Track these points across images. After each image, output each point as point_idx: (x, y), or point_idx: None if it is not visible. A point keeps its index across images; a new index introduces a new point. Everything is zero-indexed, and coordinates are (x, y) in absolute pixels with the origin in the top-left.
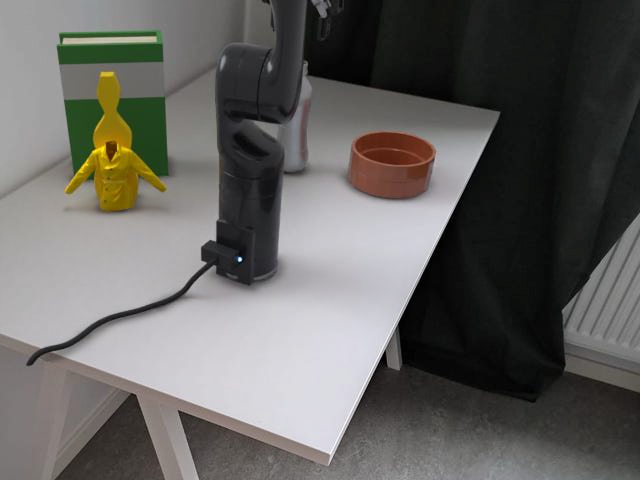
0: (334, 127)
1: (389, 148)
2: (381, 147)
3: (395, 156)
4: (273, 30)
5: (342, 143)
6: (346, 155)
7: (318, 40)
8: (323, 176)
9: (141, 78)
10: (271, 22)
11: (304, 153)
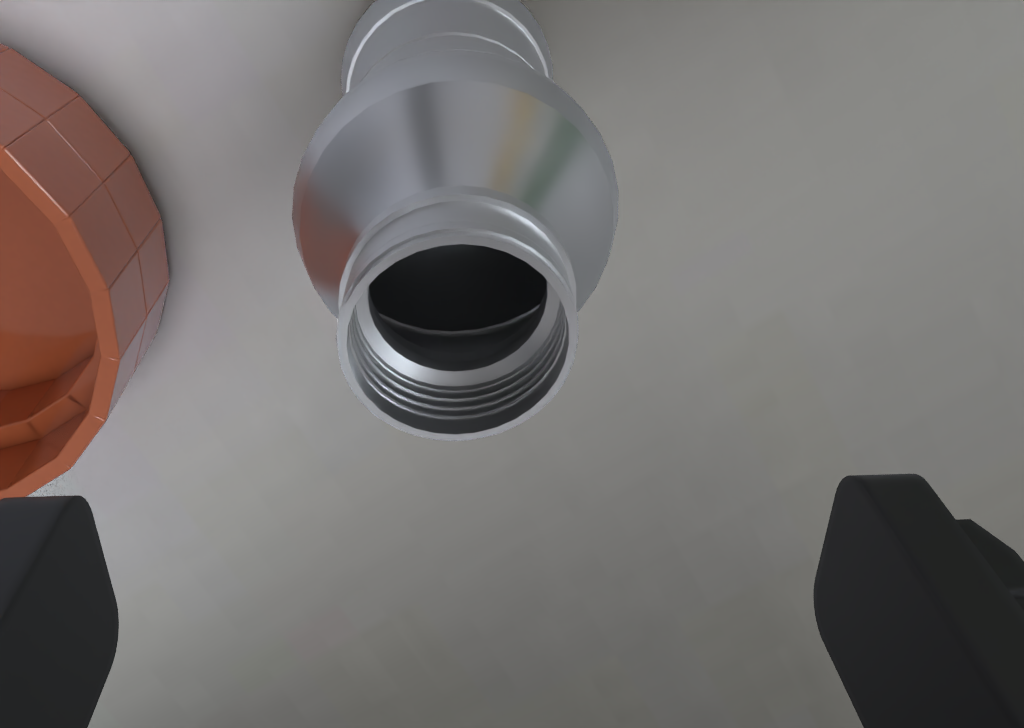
0: (488, 571)
1: (35, 426)
2: (74, 415)
3: (9, 410)
4: (907, 478)
5: (372, 461)
6: (286, 366)
7: (54, 497)
8: (244, 88)
9: None
10: (1017, 572)
11: (344, 79)
